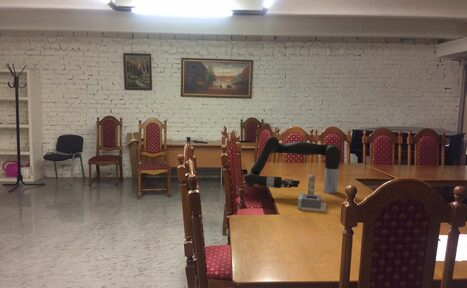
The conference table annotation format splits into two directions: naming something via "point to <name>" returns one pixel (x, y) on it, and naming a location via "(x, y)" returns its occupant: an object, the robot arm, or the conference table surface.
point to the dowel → (311, 184)
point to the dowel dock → (311, 202)
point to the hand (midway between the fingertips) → (298, 184)
